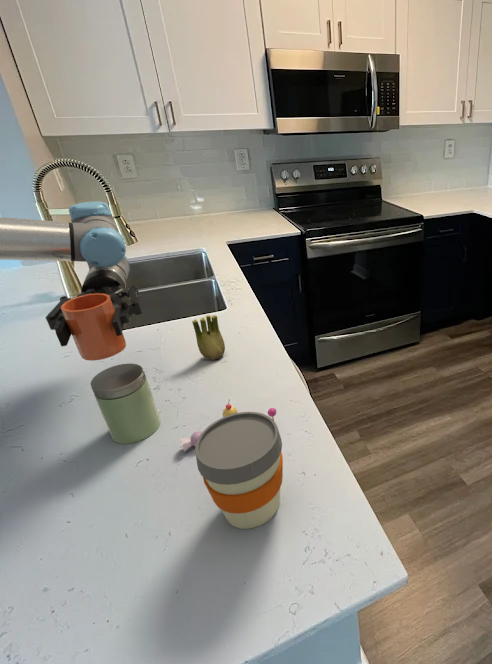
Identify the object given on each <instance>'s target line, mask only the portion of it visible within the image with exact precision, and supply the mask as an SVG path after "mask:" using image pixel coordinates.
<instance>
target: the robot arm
mask: <svg viewBox="0 0 492 664" xmlns="http://www.w3.org/2000/svg"><path fill="white" fill-rule="evenodd" d="M68 212H69V216H70V222H69V221H59V220H58V221H57V220H45V219H44V220H43V219H30V218H13V217H1V216H0V261H3V260H4V261H41V262H42V261H43V262H44V261H46V262H50V261H51V262H79V263H80V262H86V264H87V266H88V269H89V270H88V272H87V274H86V276H85V279H84V281H83V283H82V285H81V289H80V293H78V294H77V295H76V297H79V296H83V295H87V294H95V293H101V294H107V295H109V296H110V298H111V301H112V304H113V307H114V310H115V313H114V317H113V321H112V324H113V327H114V329H115V332H116V335H117V336H119V335H122V333H123V329H124V324H128V323H130V321H131V318H132V315H135V316H139V315H142V314H143V311H142V308H141V305H140V302H139V300H140V298H141V294H140V291H139V287H138V285H131V286H130V287H129V288H127V282H128V278H129V276H130V271H131V266H130V261H129V259H128V257H127V256H126V252H127V248H126V242H125V238H124V237H123V235H122V234H121V233H120V232H119V230H118V228H117V227H116V224H115V221H114V218H113V214H112V213H111V210H110V207H109V205H108V204H107V203H106V202H104V201H86V202H85V201H84V202H78V203H75V204H72V205H70V206H69V208H68ZM126 288H127V289H126ZM126 297H127V298H129V301H130V303H131V304H129V305H128V301H127V300H125V301H124V300H123V299H125V298H126ZM73 298H74V297H73ZM73 298H71V297H68V295H67V296H66V295H64V296H63V295H62V296H61V297H59V302H58V303H57V304H56V305H55V306H54V307H53V308H52V309H51V310H50V311H49V312H48V314H46V316H45V321H46V322H47V324H48V327H49V329H50V330H51V331H55V335H56V337H57V339H58V341H59V344H60V347H67V346H68V344H69V341H70V338H71V337H72V334H71V332H70V329H69V327H68V325H67V322H66V320H65V317H64V315H63V312H62V310H61V306H62V305H63V304H64V303H65V302H67V301H68V300H70V299H73Z"/></svg>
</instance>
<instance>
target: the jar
mask: <svg viewBox="0 0 492 664" xmlns="http://www.w3.org/2000/svg"><path fill="white" fill-rule="evenodd" d="M145 377H146V379H145V382H144V384H143V385H142V386H141V387H140V388H138V389H137V390H136V391H134V392H132V393H130V394H128V395H125V396H122V397H118V398H113V399H102V398H99V397H96V395H95V394H94V393H93V396H94V398H95V400H96V403H97V405H98V408H99V410H100V413H101V415H102V418H103V420H104V422H105V425H106V427H107V429H108V432H109V434H110V437H111V439H112V440H113V441H114V442H115V443H116V444H120V445H130V444H135V443H139V442H142V441H143V440H145V439H147V438H149V437H151V436H152V435H153V434H154V433H156V431H157V430H158V429H159V428H160V426H161V417H160V416H159V415H160V414H159V412H158V409H157V406H156V403H155V400H154V397H153V393H152V391H151V388H150V384H149V381H148V379H147V376H146V375H145Z"/></svg>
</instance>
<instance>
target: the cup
mask: <svg viewBox="0 0 492 664" xmlns="http://www.w3.org/2000/svg"><path fill="white" fill-rule="evenodd" d="M61 310H62V312H63V315H64V317H65V320H66V322H67V325H68V327H69V329H70V332H71V337H72V339H73V342H74V344H75V345H76V349H77V351H78V353H79V355H80V357H81V358H82V359H83V360H85V361H93V362H94V361H100V360H101V361H102V360H105V359H108V358H111V357H113V356H116V355H118V354H120V353H121V352H123V351H124V350H125V349H126V347H127V342H126V338H125V336H124V333H123V332H122V335H119V336H117V335H116V332H115V329H114V327H113V324H112V321H113V317H114V313H115V309H114V307H113V304H112V301H111V298H110V296H109V295H107V294H101V293H95V294H87V295H83V296H79V297H77V296H76V297H73V299H72V298H71V299H70V300H68V301H67V302H65V303H64V304H63V305H62V306H61Z"/></svg>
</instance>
